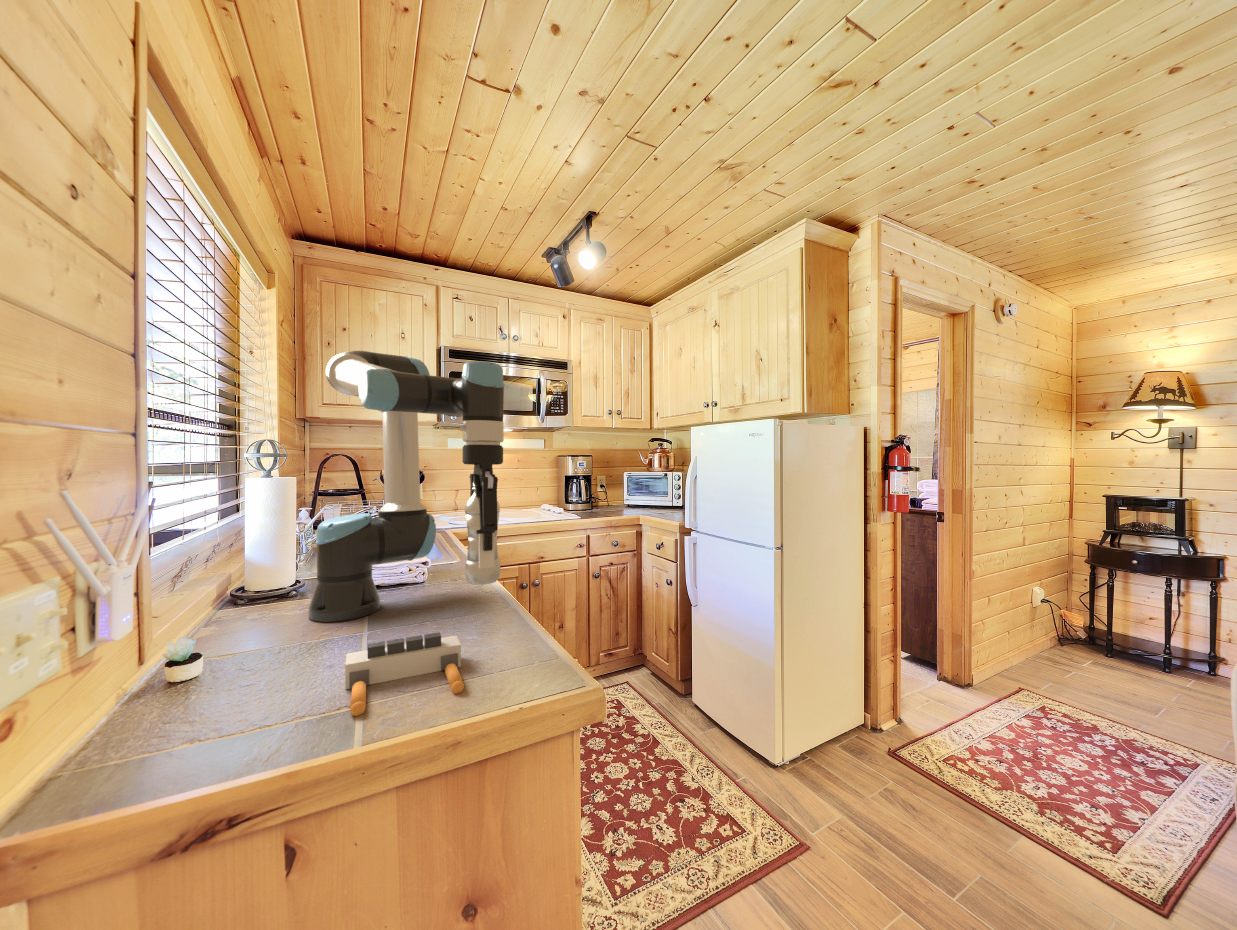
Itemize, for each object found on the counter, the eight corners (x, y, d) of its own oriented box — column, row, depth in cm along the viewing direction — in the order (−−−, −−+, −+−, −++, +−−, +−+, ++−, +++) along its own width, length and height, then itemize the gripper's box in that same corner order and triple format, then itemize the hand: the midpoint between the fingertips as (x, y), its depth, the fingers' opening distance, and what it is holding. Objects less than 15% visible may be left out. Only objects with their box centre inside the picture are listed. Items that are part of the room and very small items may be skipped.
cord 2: (444, 674, 82) (444, 662, 82) (456, 671, 83) (456, 660, 83) (451, 697, 74) (451, 684, 74) (464, 694, 75) (464, 682, 75)
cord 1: (352, 692, 76) (352, 680, 76) (366, 689, 77) (366, 677, 77) (349, 720, 68) (349, 706, 68) (365, 716, 69) (365, 703, 69)
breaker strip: (347, 676, 81) (346, 643, 81) (456, 656, 89) (456, 625, 89) (345, 691, 76) (344, 655, 76) (461, 668, 84) (461, 636, 84)
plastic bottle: (491, 589, 87) (491, 481, 87) (457, 587, 89) (458, 481, 88) (506, 580, 94) (506, 479, 93) (474, 578, 95) (475, 479, 95)
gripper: (454, 444, 97) (454, 555, 98) (472, 442, 80) (471, 577, 81) (491, 444, 101) (491, 552, 101) (515, 443, 84) (515, 572, 84)
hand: (482, 563), depth 91 cm, fingers closed on plastic bottle, 6 cm apart
